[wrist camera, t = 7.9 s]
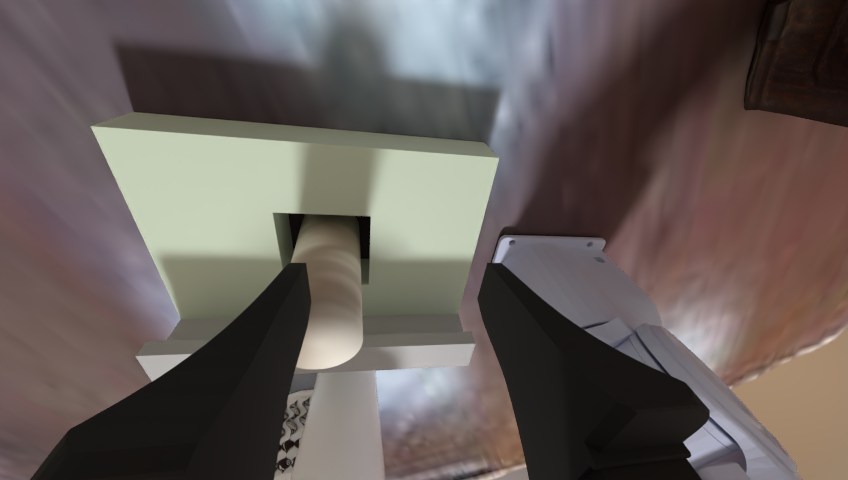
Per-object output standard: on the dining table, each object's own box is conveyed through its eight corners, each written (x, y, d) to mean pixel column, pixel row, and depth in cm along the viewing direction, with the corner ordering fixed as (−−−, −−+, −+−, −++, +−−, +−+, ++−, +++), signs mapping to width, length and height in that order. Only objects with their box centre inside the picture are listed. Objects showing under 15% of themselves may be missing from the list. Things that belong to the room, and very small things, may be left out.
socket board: (483, 142, 20) (527, 187, 14) (448, 296, 28) (468, 365, 22) (133, 111, 16) (4, 155, 11) (204, 298, 24) (151, 381, 18)
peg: (359, 204, 21) (363, 308, 13) (359, 250, 24) (362, 365, 15) (299, 202, 20) (263, 313, 12) (304, 251, 23) (276, 373, 14)
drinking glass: (301, 343, 29) (246, 577, 16) (370, 325, 28) (367, 547, 16) (329, 380, 33) (302, 591, 20) (390, 365, 32) (400, 568, 20)
